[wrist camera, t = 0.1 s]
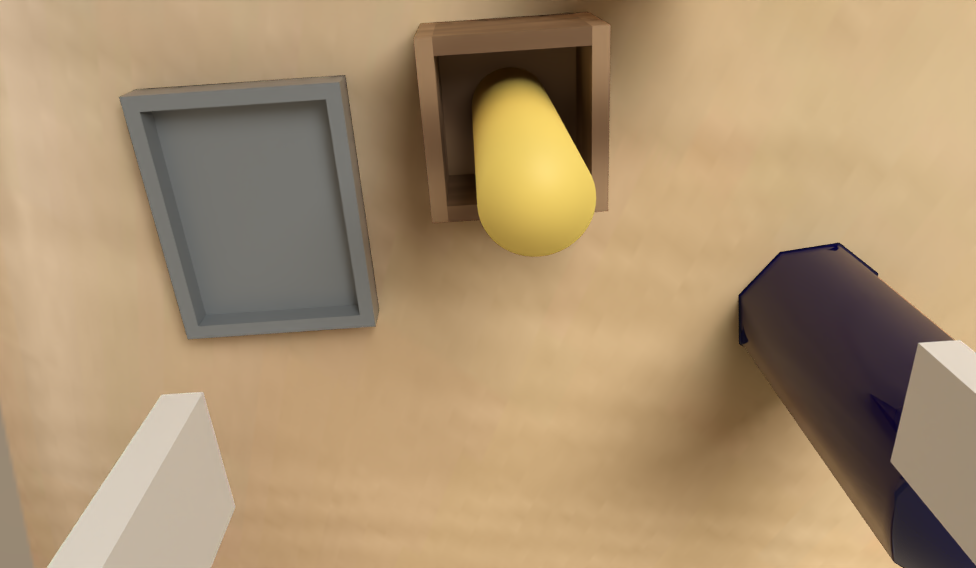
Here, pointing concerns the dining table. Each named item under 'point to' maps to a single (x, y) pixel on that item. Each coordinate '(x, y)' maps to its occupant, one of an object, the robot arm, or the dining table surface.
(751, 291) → the bottle
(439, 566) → the dining table surface
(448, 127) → the holder
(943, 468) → the robot arm
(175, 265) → the tray
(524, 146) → the dowel
